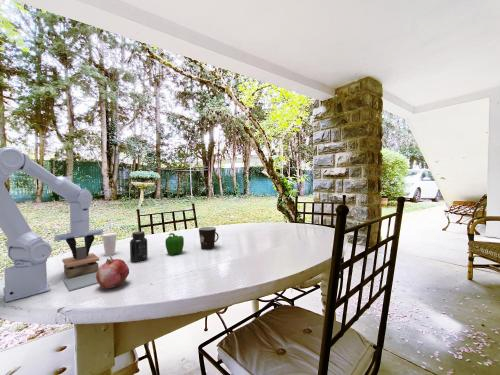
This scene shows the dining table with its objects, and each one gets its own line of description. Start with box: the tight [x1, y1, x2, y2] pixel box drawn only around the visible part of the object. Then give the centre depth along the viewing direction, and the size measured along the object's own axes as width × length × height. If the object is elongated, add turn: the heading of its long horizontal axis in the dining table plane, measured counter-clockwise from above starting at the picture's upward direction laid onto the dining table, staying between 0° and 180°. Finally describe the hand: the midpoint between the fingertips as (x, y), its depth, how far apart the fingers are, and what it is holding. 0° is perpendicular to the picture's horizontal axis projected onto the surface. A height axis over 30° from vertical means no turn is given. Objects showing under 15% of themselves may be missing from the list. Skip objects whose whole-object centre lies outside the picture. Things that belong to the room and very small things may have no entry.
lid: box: [61, 245, 100, 268], centre depth 86 cm, size 10×10×5 cm
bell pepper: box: [164, 232, 185, 256], centre depth 108 cm, size 8×8×10 cm
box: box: [63, 261, 100, 279], centre depth 86 cm, size 9×9×3 cm
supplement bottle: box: [129, 231, 149, 264], centre depth 99 cm, size 7×7×12 cm
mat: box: [63, 272, 99, 292], centre depth 79 cm, size 12×11×1 cm
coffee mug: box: [198, 226, 220, 251], centre depth 115 cm, size 12×9×10 cm
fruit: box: [96, 255, 130, 289], centre depth 74 cm, size 9×10×10 cm
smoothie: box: [101, 224, 118, 257], centre depth 108 cm, size 6×6×14 cm
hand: (80, 256), depth 86 cm, fingers closed on lid, 3 cm apart
